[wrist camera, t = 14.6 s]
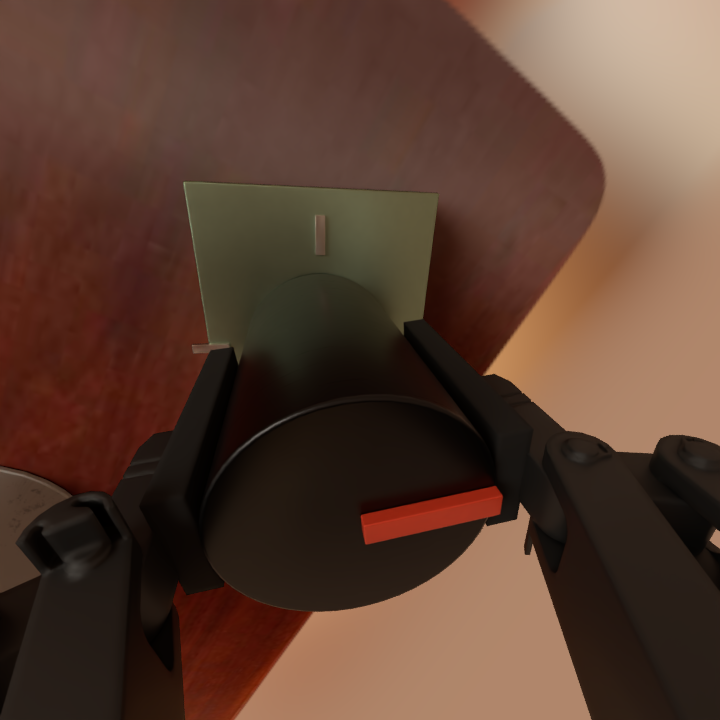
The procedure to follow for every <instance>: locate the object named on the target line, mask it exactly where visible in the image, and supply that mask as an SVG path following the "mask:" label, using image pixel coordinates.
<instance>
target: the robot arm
mask: <svg viewBox="0 0 720 720" xmlns="http://www.w3.org/2000/svg"><path fill="white" fill-rule="evenodd" d="M403 323H404V337H405V338H406V339H407V340H408V342H409V343H410V344H411V346H412V347H413V348H414V350H415V351H416V352H417V353H418V355H419V356H420V357H421V359H422V360H423V361H424V363H425V364H426V365H427V366H428V368H429V369H430V370H431V372H432V373H433V374H434V376H435V377H436V378H437V379H438V381H439V382H440V383H441V385H442V386H443V387H444V389H445V390H446V391H447V393H448V394H449V395H450V396H451V398H452V399H453V400H454V402H455V403H456V404H457V406H458V407H459V408H460V409H461V411H462V412H463V413H464V415H465V416H466V417H467V419H468V420H469V421H470V422H471V424H472V425H473V426H474V428H475V429H476V430H477V432H478V433H479V434H480V435H481V437H482V438H483V439H484V441H485V443H486V445H487V447H488V449H489V450H490V453H491V456H492V459H493V462H494V467H495V475H496V487H497V488H498V489H499V491H500V492H501V494H502V495H503V500H502V506H501V513H500V514H499V515H495V516H491V517H488V519H487V521H486V525H487V526H490V525H494V524H498V523H503V522H507V521H511V520H516V519H517V515H518V510H519V504H520V502H521V504H522V505H523V506H524V508H525V509H526V510H527V512H528V513H529V515H530V520H529V525H528V530H527V534H526V539H525V544H524V550H525V555H530V552H531V548H532V544H533V545H534V548H535V551H536V554H537V557H538V560H539V563H540V566H541V569H542V572H543V575H544V578H545V581H546V584H547V587H548V590H549V593H550V596H551V599H552V602H553V605H554V608H555V611H556V614H557V617H558V620H559V623H560V626H561V629H562V632H563V635H564V638H565V641H566V644H567V647H568V650H569V653H570V656H571V659H572V662H573V665H574V668H575V671H576V674H577V677H578V680H579V683H580V686H581V689H582V692H583V695H584V698H585V701H586V704H587V707H588V710H589V713H590V716H591V719H592V720H720V549H719V548H718V547H717V546H715V545H714V544H713V543H711V542H710V541H709V540H710V538H711V537H712V535H713V533H714V532H715V530H716V529H717V530H719V531H720V446H718V445H716V444H714V443H711V442H709V441H706V440H703V439H700V438H696V437H690V436H685V435H669V436H666V437H663V438H661V439H660V440H659V442H658V444H657V445H656V448H655V450H654V453H653V454H648V453H629V452H616V451H614V450H613V449H612V448H611V447H610V446H609V445H608V444H607V443H605V442H603V441H601V440H600V439H598V438H596V437H593V436H590V435H587V434H584V433H579V432H571V431H565V430H564V429H563V428H562V427H561V426H560V425H559V424H558V423H556V422H555V421H554V420H553V419H552V418H551V417H550V416H549V415H547V414H546V413H545V412H544V411H543V410H542V409H541V408H540V407H538V406H537V405H536V404H535V403H534V402H531V400H530V399H529V398H528V397H527V396H526V395H525V394H524V393H523V394H522V393H521V391H520V390H519V389H518V388H517V387H516V386H515V385H514V384H513V383H511V382H510V381H508V380H506V379H504V378H502V377H499V376H497V375H495V374H492V375H486V376H480V375H479V374H478V373H477V372H476V371H475V370H474V369H473V368H472V367H471V366H470V365H469V364H468V363H467V362H466V361H465V360H464V359H463V358H462V357H461V356H460V355H459V354H458V353H457V352H456V351H455V350H454V349H453V348H452V347H451V346H450V345H449V344H448V343H447V342H446V341H445V340H444V339H443V338H442V337H441V336H440V335H439V334H438V333H437V332H436V331H435V330H434V329H433V328H432V327H431V326H430V325H429V324H428V323H427V322H426V321H425V320H424V319H420V320H413V321H406V322H403ZM237 369H238V362H237V358H236V355H235V351H234V347H229V348H222V349H215V350H210V352H209V355H208V357H207V359H206V361H205V363H204V366H203V368H202V370H201V372H200V374H199V376H198V379H197V381H196V383H195V385H194V387H193V389H192V392H191V394H190V396H189V398H188V400H187V402H186V405H185V407H184V409H183V411H182V413H181V415H180V418H179V420H178V422H177V424H176V426H175V429H174V430H173V431H168V432H162V433H156V434H154V435H152V436H151V437H150V438H149V439H148V440H147V441H146V442H145V443H144V444H143V445H142V446H141V447H139V449H138V450H137V452H136V454H135V456H134V458H133V459H132V461H131V463H130V464H131V466H129V467H128V468H127V470H126V472H125V474H124V475H123V479H122V480H121V481H120V483H119V484H118V486H117V488H116V490H115V491H114V493H113V495H112V497H111V496H110V495H108V494H106V493H105V492H95V491H90V492H86V493H82V494H78V495H74V496H72V497H70V498H68V499H65V500H63V501H61V502H59V503H57V504H55V505H53V506H52V507H50V508H49V509H48V510H46V511H45V512H43V513H42V514H40V515H39V516H37V517H36V518H35V519H34V520H33V521H32V522H31V523H30V524H29V525H28V526H27V527H26V528H25V529H24V530H23V532H22V533H21V535H20V536H19V538H18V540H17V541H16V543H15V544H16V545H17V546H18V547H19V548H20V550H21V551H22V552H23V553H24V554H25V556H26V557H27V558H28V559H29V560H30V562H31V563H32V564H33V565H34V566H35V568H36V569H37V570H38V571H39V572H40V574H41V575H39V576H37V577H35V578H33V579H31V580H29V581H26V582H24V583H22V584H20V585H18V586H15V587H13V588H11V589H9V590H6V591H4V592H2V593H0V720H185V711H184V694H183V678H182V661H181V644H180V627H179V616H178V613H177V609H176V607H175V605H174V603H173V598H174V594H175V590H176V587H177V583H178V580H179V582H180V584H181V586H182V587H183V589H184V591H185V593H186V595H190V594H194V593H198V592H203V591H207V590H211V589H216V588H220V587H224V580H223V579H222V578H221V577H220V576H219V575H218V574H217V573H216V571H215V570H214V569H213V568H212V566H211V564H210V563H209V561H208V559H207V557H206V556H205V553H204V550H203V547H202V544H201V540H200V533H199V513H200V507H201V503H202V499H203V496H204V492H205V488H206V484H207V481H208V477H209V473H210V470H211V466H212V462H213V458H214V455H215V451H216V447H217V444H218V440H219V436H220V432H221V429H222V425H223V421H224V417H225V414H226V410H227V406H228V403H229V399H230V395H231V391H232V388H233V384H234V380H235V377H236V373H237Z"/></svg>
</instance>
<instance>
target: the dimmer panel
mask: <svg viewBox="0 0 720 720" xmlns="http://www.w3.org/2000/svg"><path fill="white" fill-rule="evenodd" d="M183 185H184V191H185V197H186V203H187V210H188V216H189V222H190V228H191V234H192V241H193V247H194V253H195V259H196V266H197V272H198V278H199V284H200V290H201V297H202V303H203V309H204V315H205V322H206V328H207V334H208V340H209V343H205V344H192V349H193V353H209V352H210V350H215V349H222V348H229V347H234V351H235V355H236V358H237V362H238V365H239V362H240V358H241V354H242V351H243V347H244V343H245V339H246V336H247V332H248V328H249V325H250V321H251V319H252V316H253V314H254V312H255V310H256V309H257V307H258V305H259V304H260V303H261V302H262V300H263V299H264V298H265V297H266V296H267V295H268V294H269V293H270V292H271V291H272V290H274V289H275V288H277V287H278V286H280V285H281V284H283V283H285V282H287V281H289V280H291V279H294V278H297V277H300V276H306V275H311V274H329V275H335V276H340V277H343V278H346V279H349V280H351V281H353V282H355V283H357V284H359V285H360V286H362V287H363V288H365V289H366V290H367V291H368V292H369V293H370V294H371V295H373V297H374V298H375V299H376V300H377V302H378V303H379V304H380V305H381V307H382V308H383V309H384V311H385V312H386V313H387V314H388V316H389V317H390V318H391V320H392V321H393V322H394V324H395V325H396V326H397V327H398V329H399V330H400V331H401V333H402V334H403V335H404V323H403V322H406V321H413V320H420V319H423V313H424V305H425V297H426V290H427V282H428V274H429V267H430V259H431V251H432V243H433V236H434V228H435V220H436V213H437V205H438V197H439V194H438V193H429V192H412V191H391V190H370V189H349V188H328V187H307V186H286V185H265V184H244V183H223V182H202V181H184V182H183Z"/></svg>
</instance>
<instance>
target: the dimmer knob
mask: <svg viewBox="0 0 720 720" xmlns="http://www.w3.org/2000/svg"><path fill="white" fill-rule="evenodd" d="M502 500H503V495H502V494H501V492H500V491H499V489H498V488H497V487H496V475H495V467H494V462H493V459H492V456H491V453H490V450H489V449H488V447H487V445H486V443H485V441H484V439H483V438H482V437H481V435H480V434H479V433H478V432H477V430H476V429H475V428H474V426H473V425H472V424H471V422H470V421H469V420H468V419H467V417H466V416H465V415H464V413H463V412H462V411H461V409H460V408H459V407H458V406H457V404H456V403H455V402H454V400H453V399H452V398H451V396H450V395H449V394H448V393H447V391H446V390H445V389H444V387H443V386H442V385H441V383H440V382H439V381H438V379H437V378H436V377H435V376H434V374H433V373H432V372H431V370H430V369H429V368H428V366H427V365H426V364H425V363H424V361H423V360H422V359H421V357H420V356H419V355H418V353H417V352H416V351H415V350H414V348H413V347H412V346H411V344H410V343H409V342H408V340H407V339H406V338H405V337H404V335H403V334H402V333H401V331H400V330H399V329H398V327H397V326H396V325H395V324H394V322H393V321H392V320H391V318H390V317H389V316H388V314H387V313H386V312H385V311H384V309H383V308H382V307H381V305H380V304H379V303H378V302H377V300H376V299H375V298H374V297H373V295H371V294H370V293H369V292H368V291H367V290H366V289H365V288H363V287H362V286H360V285H359V284H357V283H355V282H353V281H351V280H349V279H346V278H343V277H340V276H335V275H329V274H311V275H306V276H300V277H297V278H294V279H291V280H289V281H287V282H285V283H283V284H281V285H280V286H278V287H277V288H275V289H274V290H272V291H271V292H270V293H269V294H268V295H267V296H266V297H265V298H264V299H263V300H262V302H261V303H260V304H259V305H258V307H257V309H256V310H255V312H254V314H253V316H252V319H251V321H250V325H249V328H248V332H247V336H246V339H245V343H244V347H243V351H242V354H241V358H240V362H239V365H238V369H237V373H236V377H235V380H234V384H233V388H232V391H231V395H230V399H229V403H228V406H227V410H226V414H225V417H224V421H223V425H222V429H221V432H220V436H219V440H218V444H217V447H216V451H215V455H214V458H213V462H212V466H211V470H210V473H209V477H208V481H207V484H206V488H205V492H204V496H203V499H202V503H201V507H200V513H199V533H200V540H201V544H202V547H203V550H204V553H205V556H206V557H207V559H208V561H209V563H210V564H211V566H212V568H213V569H214V570H215V571H216V573H217V574H218V575H219V576H220V577H221V578H222V579H223V580H224V581H225V582H226V583H227V584H229V585H230V586H231V587H232V588H234V589H235V590H237V591H238V592H240V593H242V594H243V595H245V596H247V597H249V598H252V599H254V600H256V601H258V602H261V603H264V604H268V605H271V606H274V607H279V608H284V609H289V610H298V611H314V612H323V611H338V610H345V609H353V608H357V607H362V606H367V605H371V604H374V603H378V602H381V601H384V600H387V599H390V598H393V597H396V596H398V595H401V594H403V593H405V592H407V591H409V590H412V589H414V588H416V587H417V586H419V585H421V584H423V583H425V582H427V581H428V580H430V579H431V578H433V577H434V576H436V575H437V574H439V573H440V572H442V571H443V570H444V569H446V568H447V567H448V566H449V565H451V564H452V563H453V562H454V561H455V560H456V559H457V558H458V557H460V556H461V555H462V554H463V553H464V552H465V551H466V549H467V548H468V547H469V546H470V545H471V544H472V543H473V541H474V540H475V538H476V537H477V536H478V534H479V533H480V531H481V529H482V528H483V526H484V524H485V523H486V521H487V519H488V517H491V516H495V515H499V514H500V513H501V506H502Z"/></svg>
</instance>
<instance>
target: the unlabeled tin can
mask: <svg viewBox="0 0 720 720" xmlns="http://www.w3.org/2000/svg"><path fill="white" fill-rule="evenodd" d="M70 497H72V495H71V494H69V493H68V492H67V491H66V490H64V489H62V488H60V487H59V486H57V485H55V484H53V483H52V482H50V481H48V480H46V479H43V478H40V477H38V476H35V475H33V474H30V473H27V472H24V471H19V470H15V469H11V468H6V467H2V466H0V593H2V592H4V591H6V590H9V589H11V588H13V587H15V586H18V585H20V584H22V583H24V582H26V581H29V580H31V579H33V578H35V577H37V576H39V575H41V574H40V572H39V571H38V570H37V569H36V568H35V566H34V565H33V564H32V563H31V562H30V560H29V559H28V558H27V557H26V556H25V554H24V553H23V552H22V551H21V550H20V548H19V547H18V546H17V545H16V544H15V543H16V541H17V540H18V538H19V536H20V535H21V533H22V532H23V530H24V529H25V528H26V527H27V526H28V525H29V524H30V523H31V522H32V521H33V520H34V519H35V518H36V517H37V516H39V515H40V514H42V513H43V512H45V511H46V510H48V509H49V508H50V507H52V506H53V505H55V504H57V503H59V502H61V501H63V500H65V499H68V498H70Z"/></svg>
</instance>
